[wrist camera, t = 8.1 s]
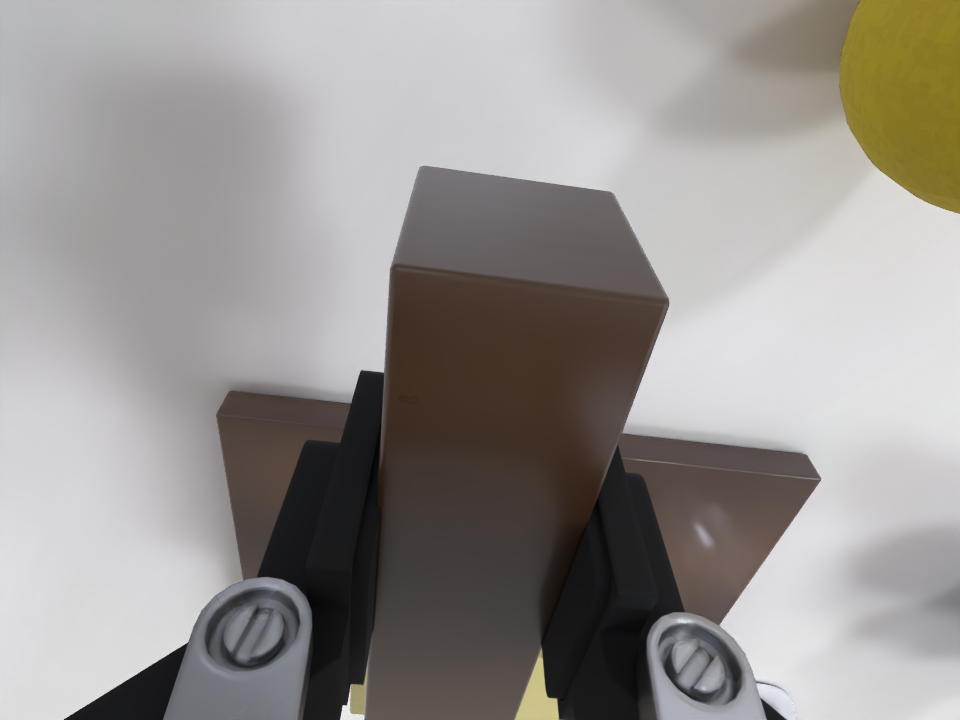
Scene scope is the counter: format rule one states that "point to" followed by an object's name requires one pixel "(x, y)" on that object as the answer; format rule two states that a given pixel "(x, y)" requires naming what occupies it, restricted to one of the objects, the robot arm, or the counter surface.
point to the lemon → (907, 93)
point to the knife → (496, 428)
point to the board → (661, 462)
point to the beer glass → (777, 700)
